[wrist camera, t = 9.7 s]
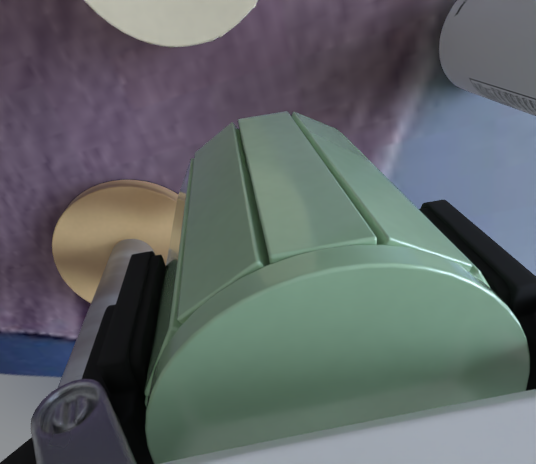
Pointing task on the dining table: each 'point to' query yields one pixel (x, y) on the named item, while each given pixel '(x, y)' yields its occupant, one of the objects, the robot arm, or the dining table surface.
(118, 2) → the cup
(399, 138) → the dining table surface
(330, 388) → the green grooved cylinder
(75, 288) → the disc
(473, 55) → the energy drink can
